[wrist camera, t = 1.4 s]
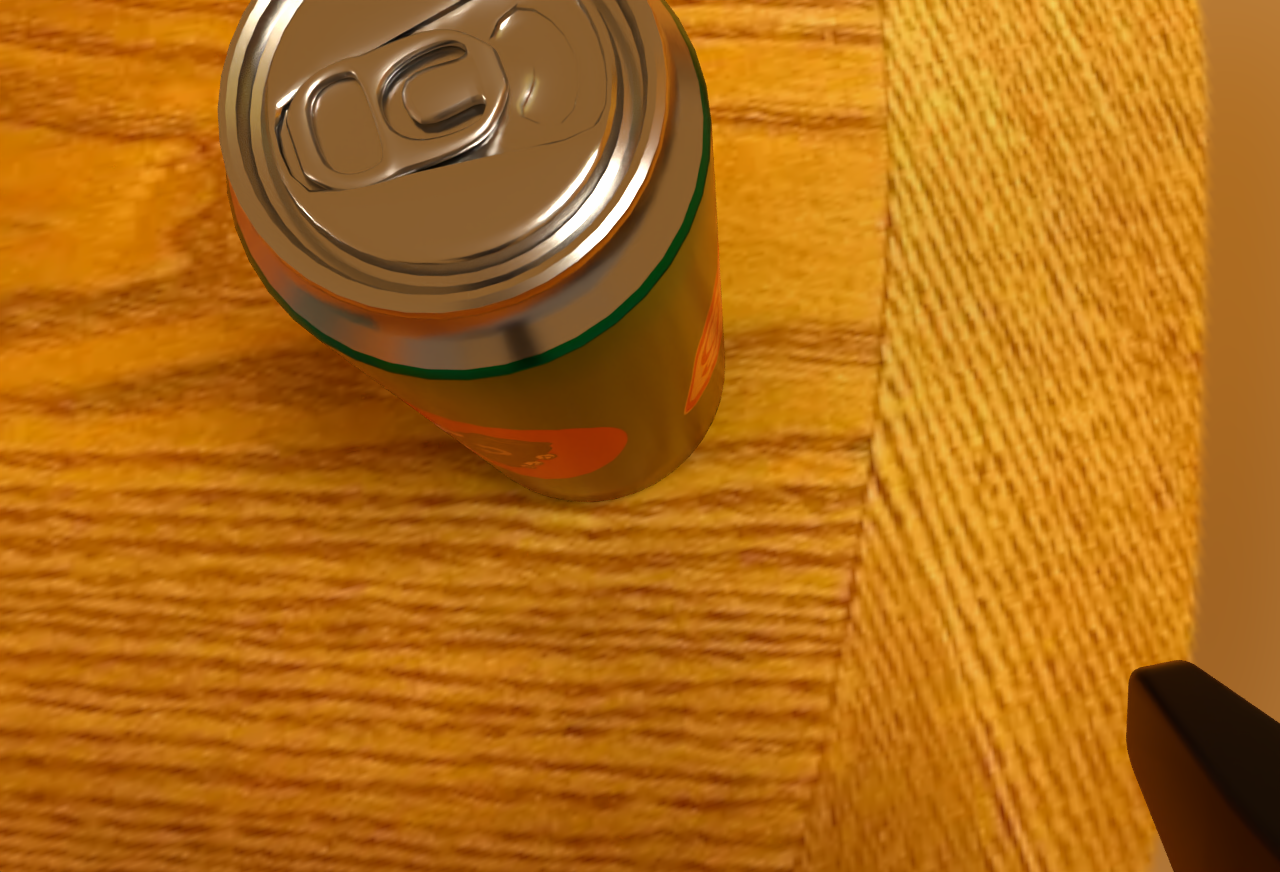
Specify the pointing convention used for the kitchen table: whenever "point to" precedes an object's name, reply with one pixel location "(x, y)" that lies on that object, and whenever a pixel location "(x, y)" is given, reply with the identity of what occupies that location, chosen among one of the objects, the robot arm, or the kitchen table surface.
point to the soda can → (492, 219)
